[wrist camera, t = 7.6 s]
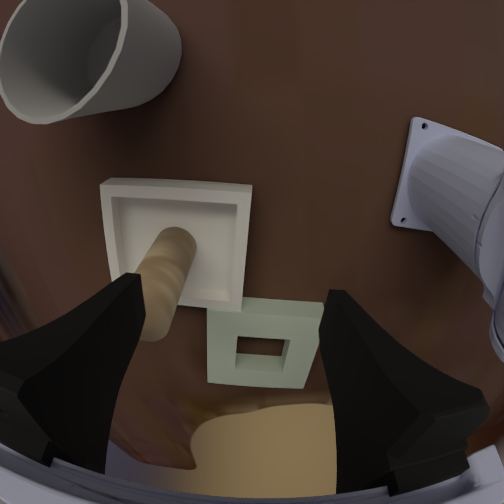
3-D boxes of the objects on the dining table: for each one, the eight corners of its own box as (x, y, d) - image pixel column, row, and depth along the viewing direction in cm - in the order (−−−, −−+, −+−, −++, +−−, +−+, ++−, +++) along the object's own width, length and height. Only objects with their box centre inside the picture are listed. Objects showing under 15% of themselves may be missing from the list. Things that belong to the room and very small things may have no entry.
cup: (179, 107, 17) (120, 117, 10) (54, 115, 17) (-34, 139, 9) (190, 5, 14) (142, -51, 6) (60, 25, 14) (-25, 13, 6)
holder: (322, 302, 24) (326, 318, 22) (301, 372, 28) (303, 388, 27) (210, 293, 24) (206, 309, 22) (210, 366, 28) (207, 382, 27)
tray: (252, 184, 20) (251, 193, 18) (242, 296, 24) (240, 311, 22) (111, 177, 20) (99, 184, 18) (122, 283, 24) (114, 296, 22)
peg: (202, 235, 21) (175, 310, 14) (189, 269, 22) (162, 348, 15) (161, 220, 20) (117, 287, 13) (152, 255, 22) (111, 328, 15)
